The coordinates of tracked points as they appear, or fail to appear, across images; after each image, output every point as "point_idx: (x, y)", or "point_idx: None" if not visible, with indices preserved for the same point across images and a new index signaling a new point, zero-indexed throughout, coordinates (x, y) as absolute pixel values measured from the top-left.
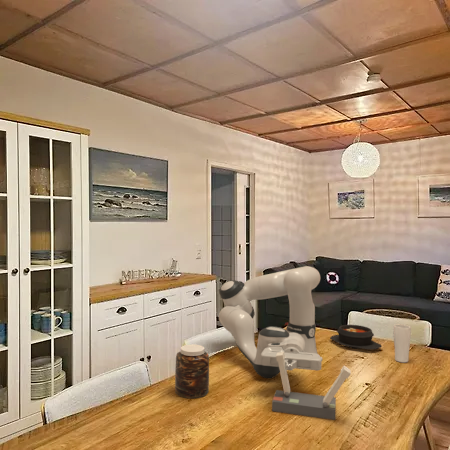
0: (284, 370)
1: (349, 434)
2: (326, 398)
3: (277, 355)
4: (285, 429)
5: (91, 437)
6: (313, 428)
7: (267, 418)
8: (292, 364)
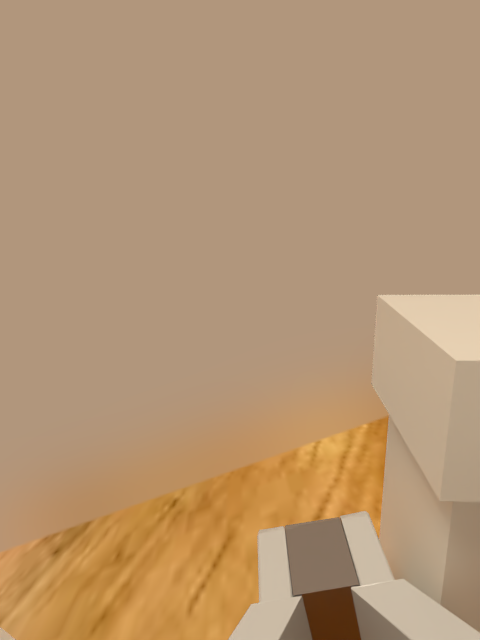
0: (383, 528)
1: (15, 603)
2: (7, 635)
3: (474, 298)
4: None
5: None
6: (177, 584)
7: None
8: (260, 552)
